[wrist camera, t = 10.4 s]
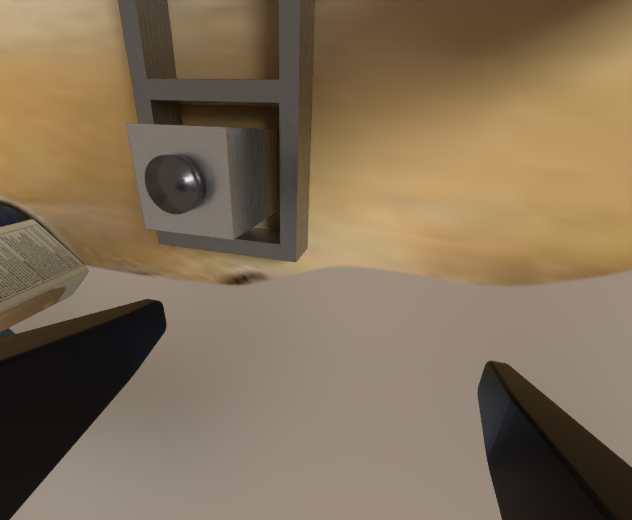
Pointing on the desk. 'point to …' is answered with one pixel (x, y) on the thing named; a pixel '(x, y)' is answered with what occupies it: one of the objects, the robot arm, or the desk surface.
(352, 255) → the desk surface
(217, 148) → the knobbed drawer box
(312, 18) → the two-cubby grey shelf
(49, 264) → the skincare box
